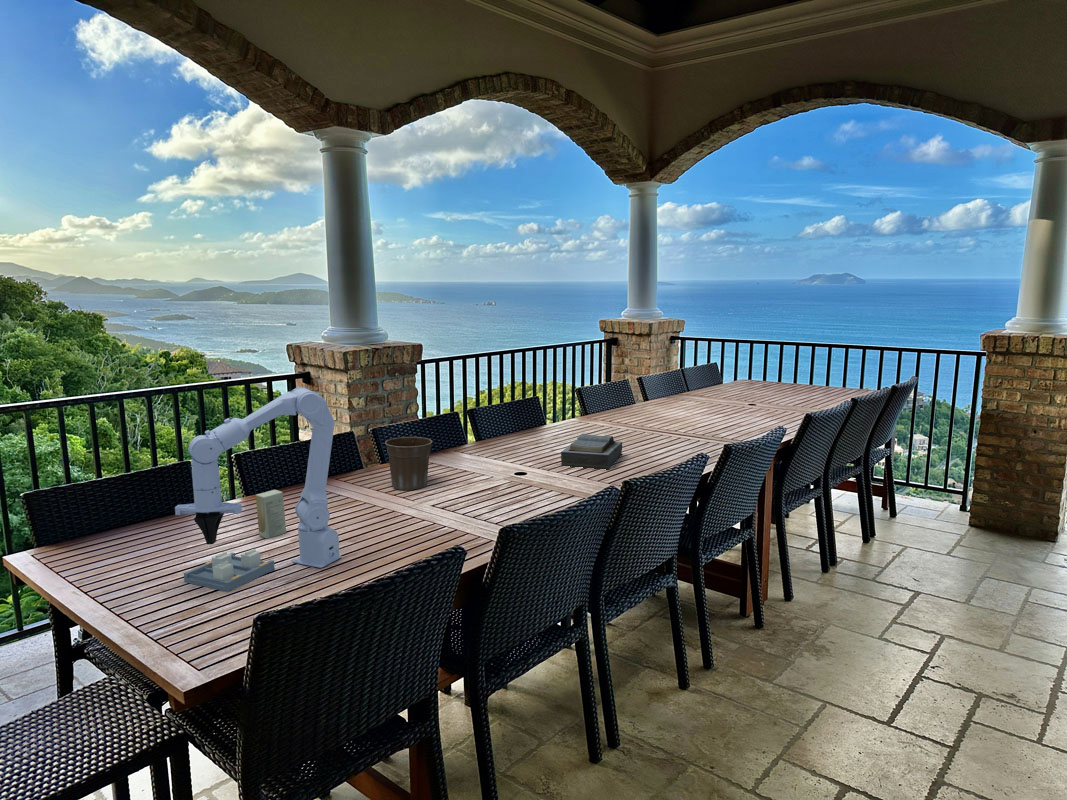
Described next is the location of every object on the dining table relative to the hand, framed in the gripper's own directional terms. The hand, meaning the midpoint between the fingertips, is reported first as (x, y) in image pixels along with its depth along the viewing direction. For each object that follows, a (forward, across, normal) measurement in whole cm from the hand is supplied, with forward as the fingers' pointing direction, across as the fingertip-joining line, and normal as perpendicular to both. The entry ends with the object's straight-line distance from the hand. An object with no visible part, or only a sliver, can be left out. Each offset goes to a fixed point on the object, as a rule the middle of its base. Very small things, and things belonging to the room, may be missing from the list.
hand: (211, 542), depth 165 cm
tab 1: (+8, 0, -4) cm, 9 cm away
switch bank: (+9, -3, -3) cm, 10 cm away
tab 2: (+8, -3, +2) cm, 9 cm away
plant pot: (+10, -36, -79) cm, 87 cm away
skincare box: (+10, -4, -32) cm, 33 cm away
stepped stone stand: (+10, -105, -111) cm, 153 cm away
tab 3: (+8, -7, -5) cm, 12 cm away
